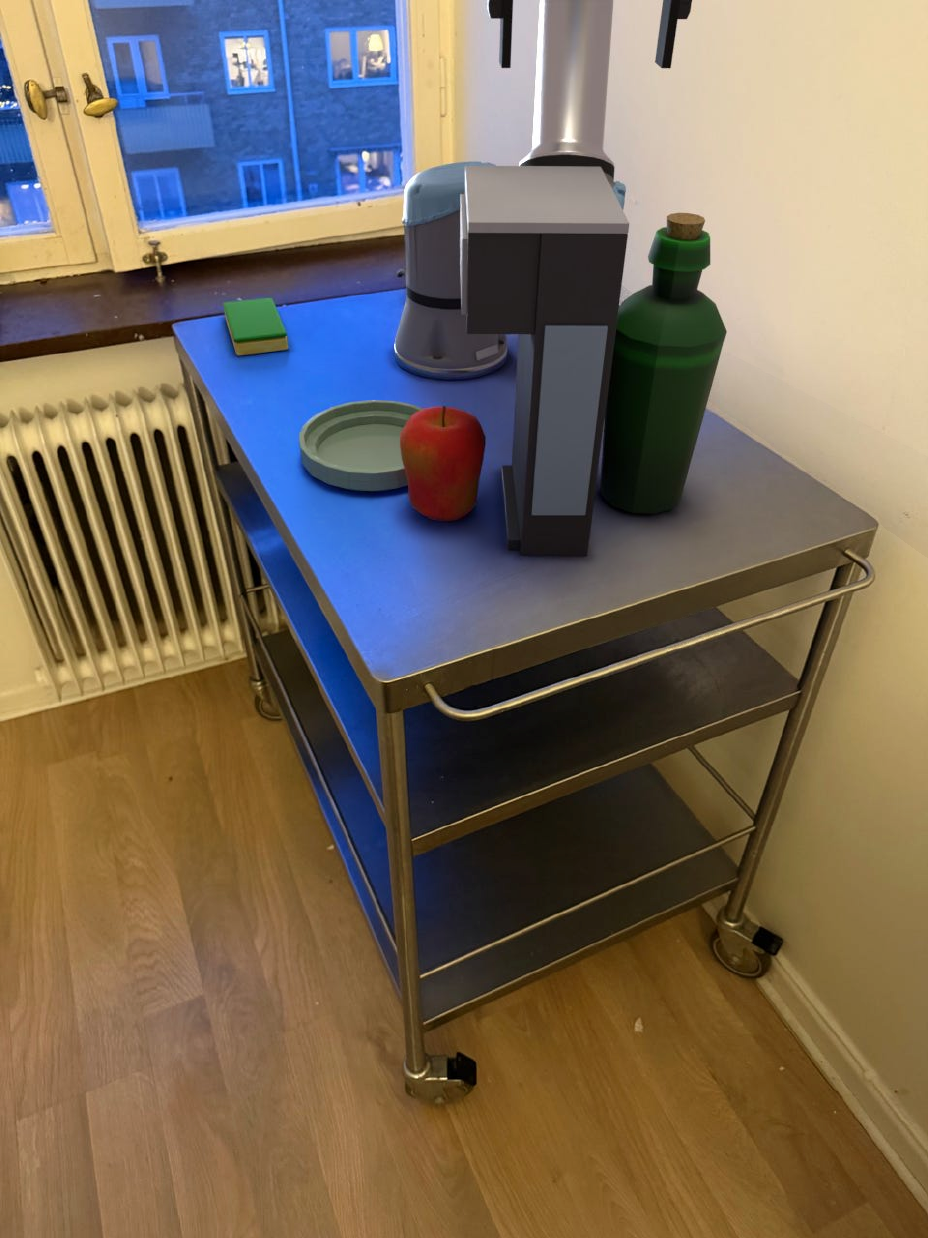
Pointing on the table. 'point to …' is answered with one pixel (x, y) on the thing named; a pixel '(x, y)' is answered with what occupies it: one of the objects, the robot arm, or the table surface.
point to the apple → (443, 461)
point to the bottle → (661, 373)
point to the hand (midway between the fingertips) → (583, 65)
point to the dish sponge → (255, 326)
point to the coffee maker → (547, 333)
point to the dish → (357, 445)
